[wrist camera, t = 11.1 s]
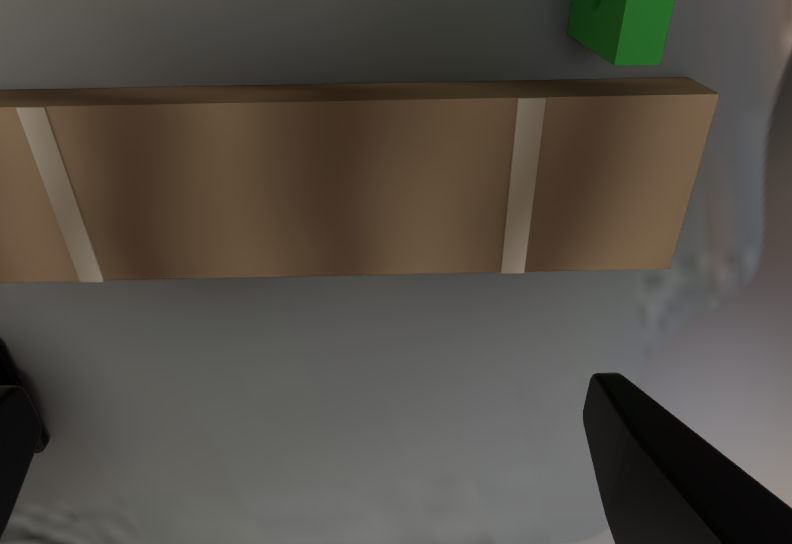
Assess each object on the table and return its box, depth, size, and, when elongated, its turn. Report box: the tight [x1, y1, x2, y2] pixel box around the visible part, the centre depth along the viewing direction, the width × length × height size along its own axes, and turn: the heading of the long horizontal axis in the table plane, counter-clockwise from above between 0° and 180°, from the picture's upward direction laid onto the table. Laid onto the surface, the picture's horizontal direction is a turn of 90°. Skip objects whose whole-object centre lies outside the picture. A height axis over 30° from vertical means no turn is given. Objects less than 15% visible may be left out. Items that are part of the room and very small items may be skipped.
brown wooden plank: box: [0, 78, 719, 282], centre depth 19 cm, size 24×6×2 cm, turn 91°
